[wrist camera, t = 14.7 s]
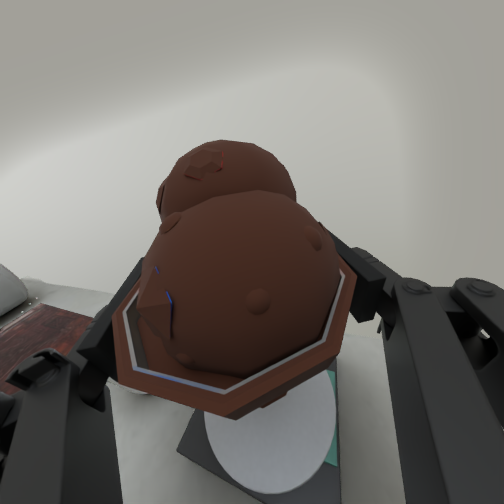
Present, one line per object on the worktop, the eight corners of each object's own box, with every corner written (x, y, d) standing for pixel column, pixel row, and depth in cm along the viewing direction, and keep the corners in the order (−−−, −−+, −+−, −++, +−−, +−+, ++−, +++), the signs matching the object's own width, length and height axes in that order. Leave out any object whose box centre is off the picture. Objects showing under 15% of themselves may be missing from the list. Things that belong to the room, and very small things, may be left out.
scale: (334, 355, 20) (336, 340, 19) (339, 548, 11) (344, 551, 9) (239, 332, 25) (234, 319, 23) (186, 457, 15) (172, 449, 14)
